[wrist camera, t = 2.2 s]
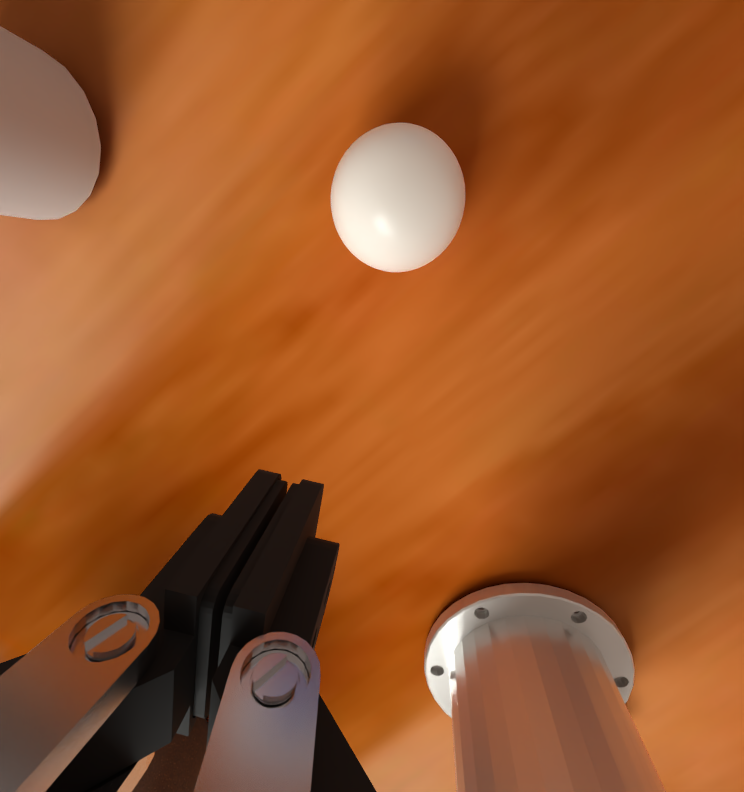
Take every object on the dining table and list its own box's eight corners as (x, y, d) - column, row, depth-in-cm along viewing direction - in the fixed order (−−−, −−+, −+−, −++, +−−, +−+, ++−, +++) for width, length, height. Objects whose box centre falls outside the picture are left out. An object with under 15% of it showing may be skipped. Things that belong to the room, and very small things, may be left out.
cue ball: (481, 227, 19) (503, 211, 14) (384, 293, 20) (371, 301, 15) (419, 118, 18) (417, 57, 13) (322, 196, 20) (285, 169, 14)
